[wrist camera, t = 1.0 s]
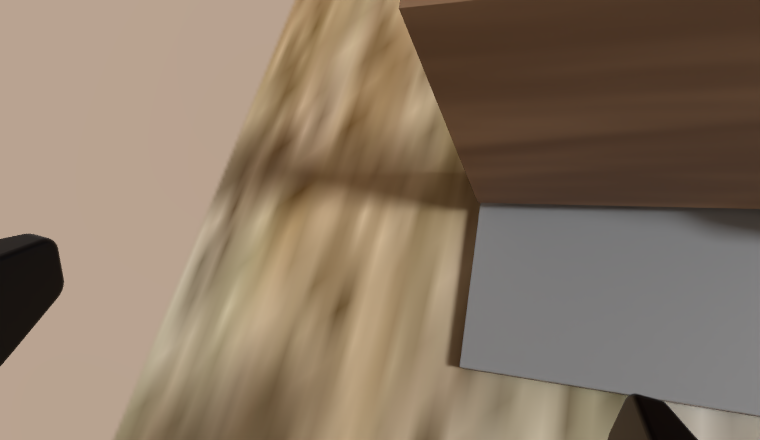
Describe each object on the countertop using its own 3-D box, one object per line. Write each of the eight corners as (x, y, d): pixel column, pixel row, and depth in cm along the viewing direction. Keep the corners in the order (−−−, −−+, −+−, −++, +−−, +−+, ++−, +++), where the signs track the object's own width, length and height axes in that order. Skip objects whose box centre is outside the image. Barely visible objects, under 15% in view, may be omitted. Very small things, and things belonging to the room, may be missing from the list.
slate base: (996, 454, 12) (1017, 457, 11) (461, 368, 16) (458, 366, 16) (921, -48, 16) (933, -64, 15) (510, -13, 20) (508, -25, 20)
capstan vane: (963, 246, 13) (1650, -55, 5) (476, 227, 17) (393, 46, 9) (935, 98, 14) (1439, -343, 6) (487, 113, 18) (422, -139, 10)
